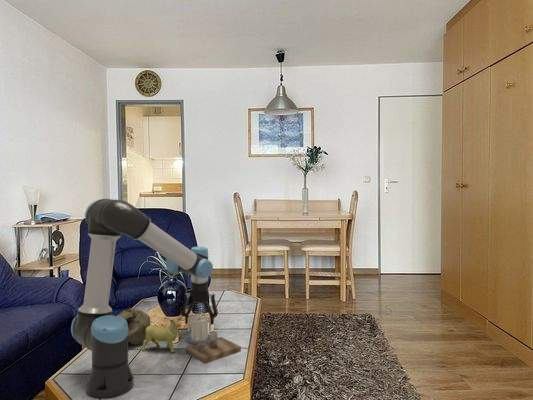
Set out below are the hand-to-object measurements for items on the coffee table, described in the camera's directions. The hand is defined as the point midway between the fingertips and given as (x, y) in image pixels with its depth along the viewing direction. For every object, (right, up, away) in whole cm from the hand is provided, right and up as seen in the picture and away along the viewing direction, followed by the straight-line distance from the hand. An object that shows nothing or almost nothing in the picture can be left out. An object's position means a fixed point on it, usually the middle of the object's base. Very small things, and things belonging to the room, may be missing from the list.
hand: (199, 331), depth 186 cm
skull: (-30, -4, -4) cm, 31 cm away
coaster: (0, -4, 0) cm, 4 cm away
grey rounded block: (0, -3, 0) cm, 3 cm away
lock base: (+8, -5, -13) cm, 16 cm away
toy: (-13, -5, -12) cm, 18 cm away
